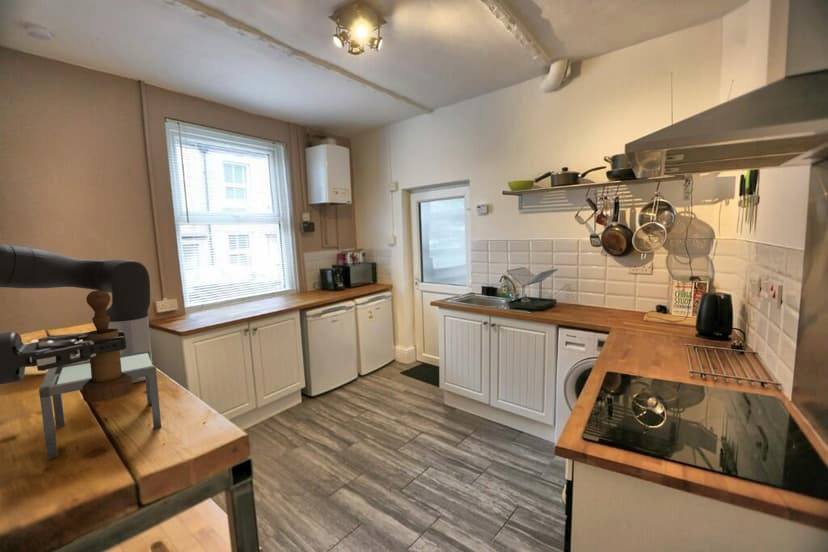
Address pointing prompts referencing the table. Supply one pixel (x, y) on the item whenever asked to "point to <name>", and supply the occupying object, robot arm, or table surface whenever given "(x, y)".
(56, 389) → the frame
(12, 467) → the table surface
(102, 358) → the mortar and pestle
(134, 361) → the trapdoor
